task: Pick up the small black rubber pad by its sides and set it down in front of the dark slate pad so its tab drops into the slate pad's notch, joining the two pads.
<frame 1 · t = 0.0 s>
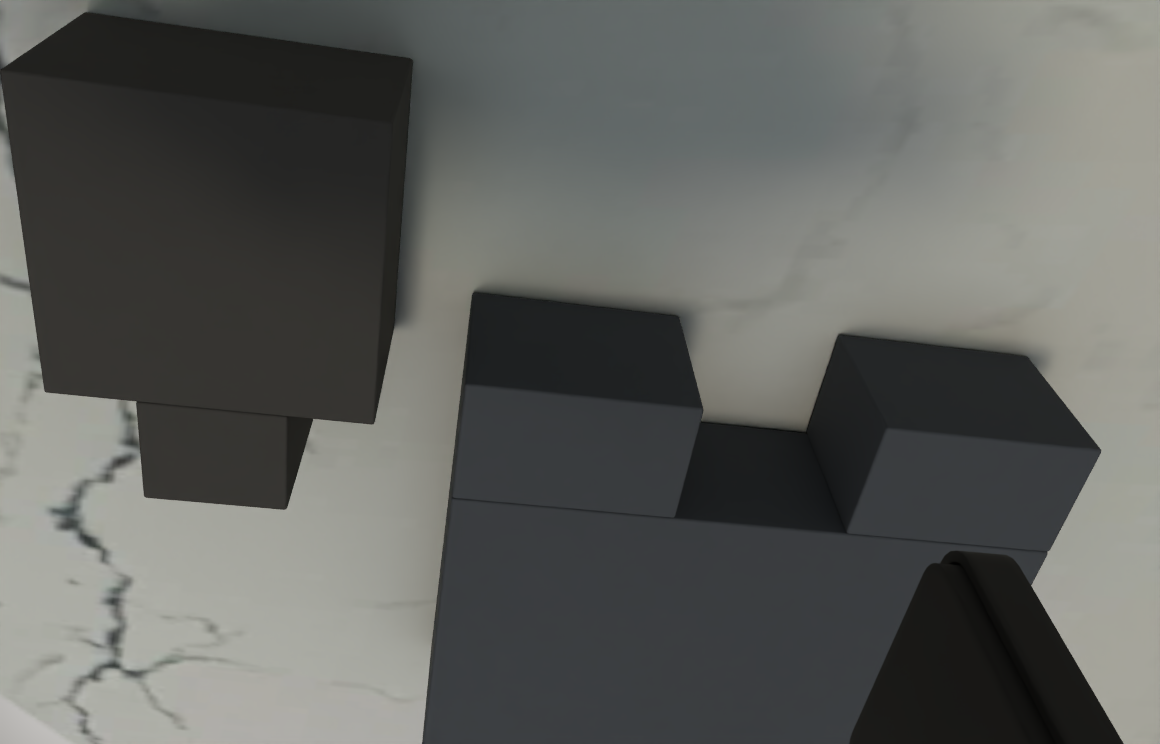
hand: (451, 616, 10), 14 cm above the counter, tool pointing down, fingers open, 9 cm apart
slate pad: (705, 513, 28), on the counter
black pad: (253, 184, 23), on the counter
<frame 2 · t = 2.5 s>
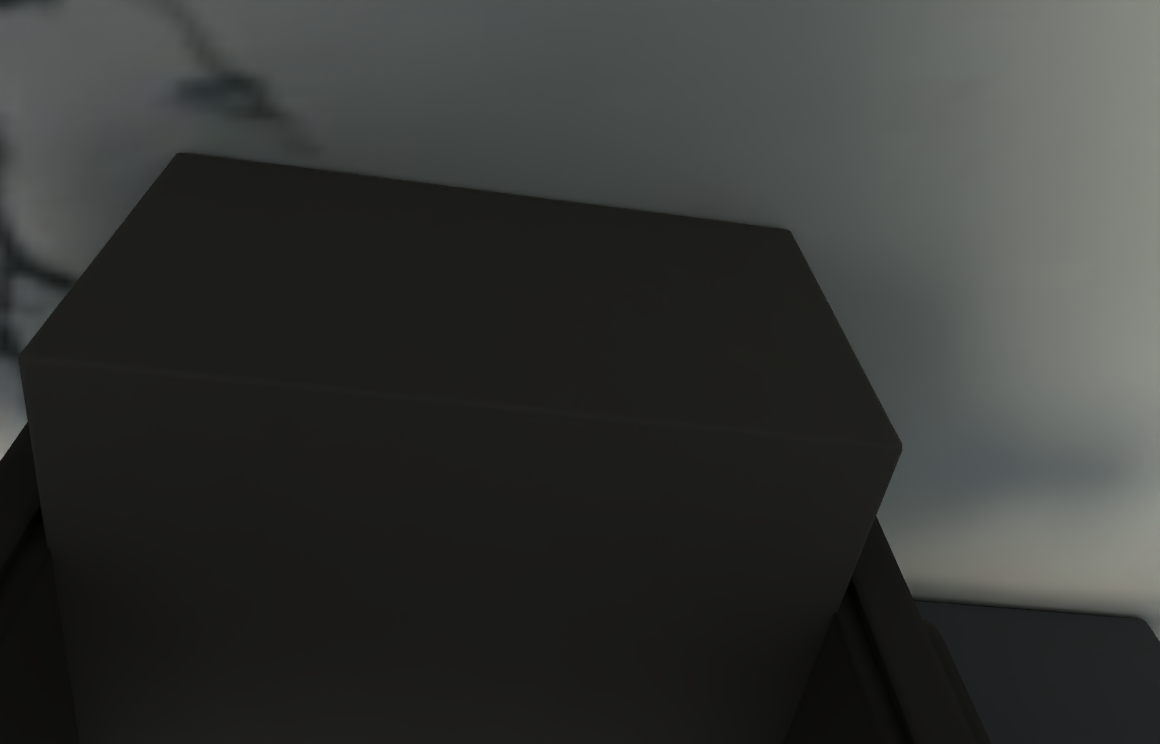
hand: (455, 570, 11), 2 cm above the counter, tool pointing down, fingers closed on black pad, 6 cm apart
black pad: (465, 438, 13), on the counter, touching gripper
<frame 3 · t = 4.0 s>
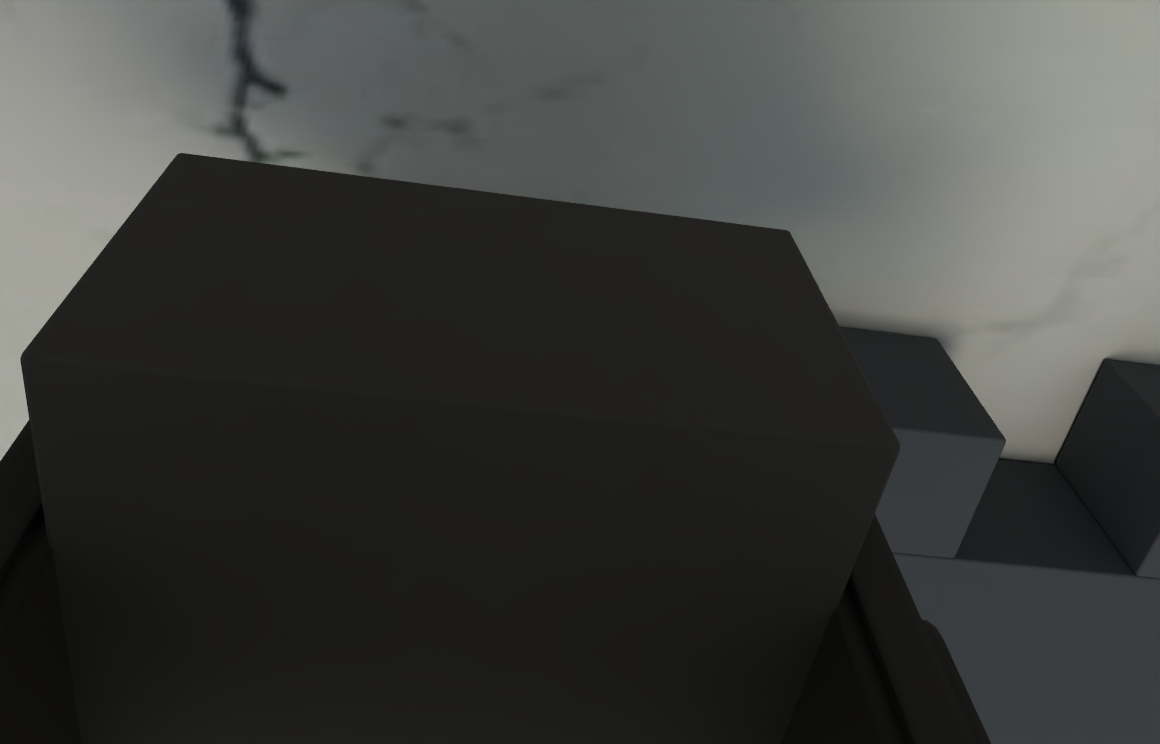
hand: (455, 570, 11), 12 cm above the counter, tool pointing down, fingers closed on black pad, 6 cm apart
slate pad: (934, 550, 26), on the counter
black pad: (465, 438, 13), point 9 cm above the counter, touching gripper
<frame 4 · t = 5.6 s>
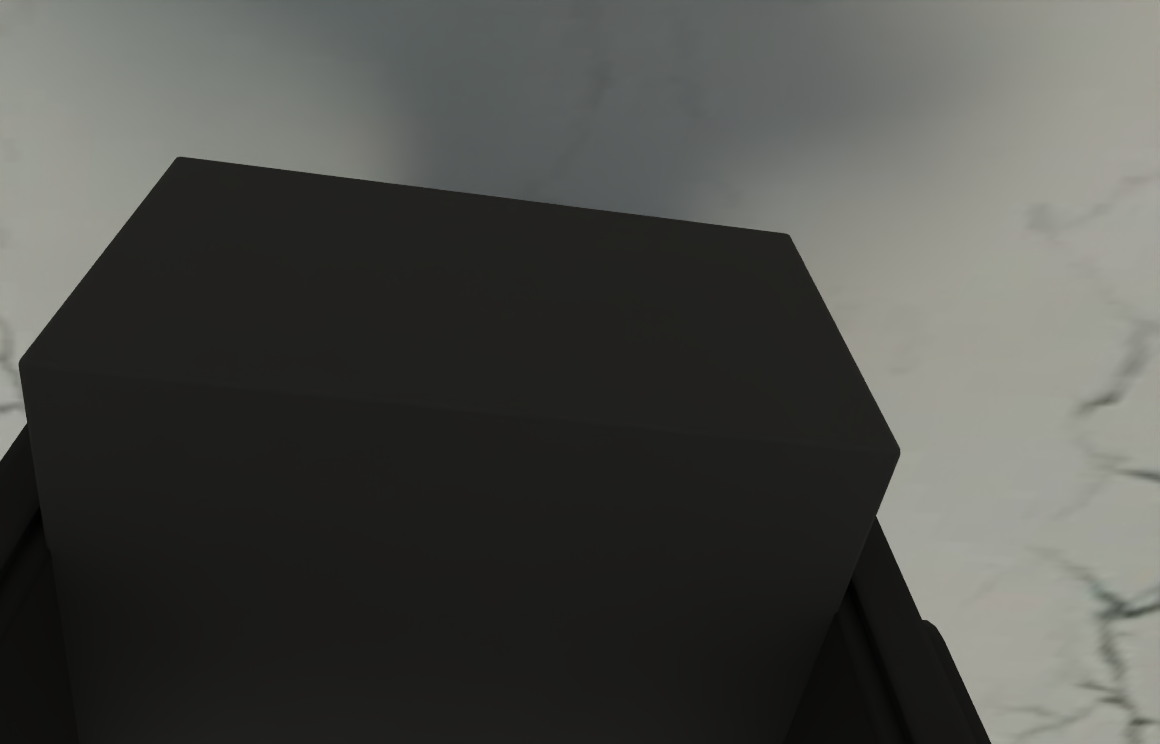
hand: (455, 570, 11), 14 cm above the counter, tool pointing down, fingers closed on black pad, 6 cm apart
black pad: (464, 441, 13), point 12 cm above the counter, touching gripper
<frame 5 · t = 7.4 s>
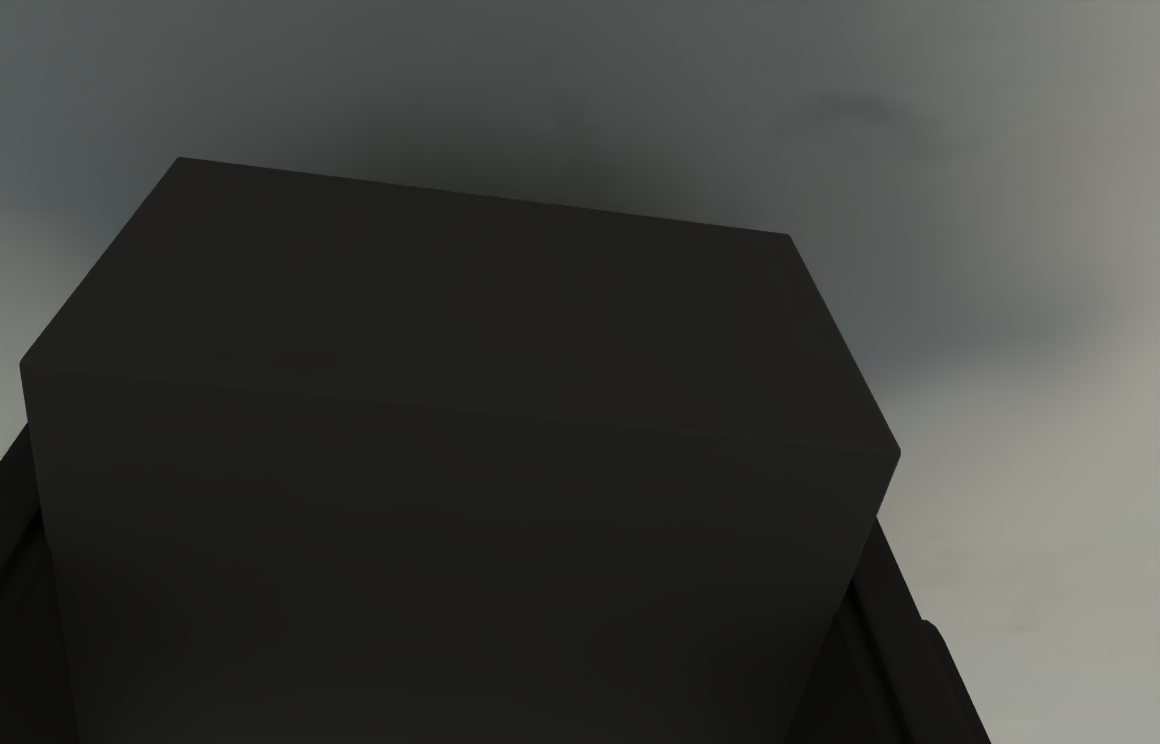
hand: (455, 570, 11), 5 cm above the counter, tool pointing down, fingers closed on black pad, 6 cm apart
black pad: (465, 441, 13), point 3 cm above the counter, touching gripper
when the fingers open (2 cm above the counter, at t = 8.7 s): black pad stays where it is, on the counter.
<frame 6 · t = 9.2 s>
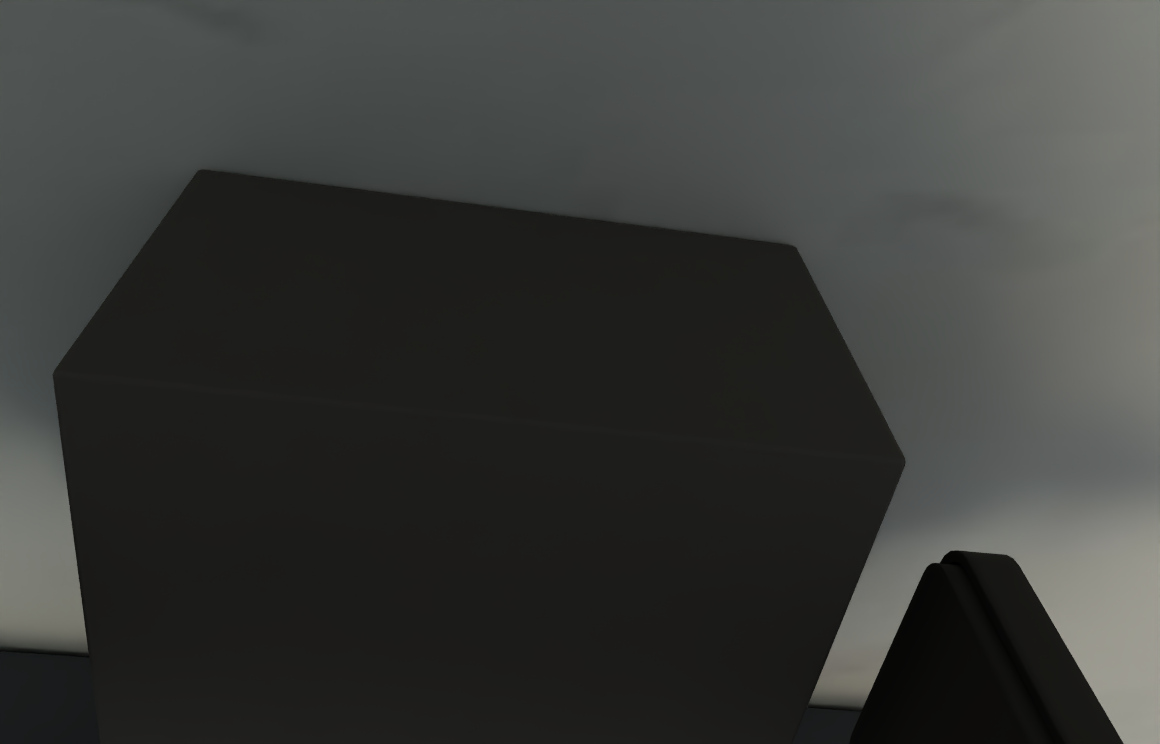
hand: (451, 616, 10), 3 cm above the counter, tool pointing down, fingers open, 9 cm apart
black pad: (476, 447, 13), on the counter
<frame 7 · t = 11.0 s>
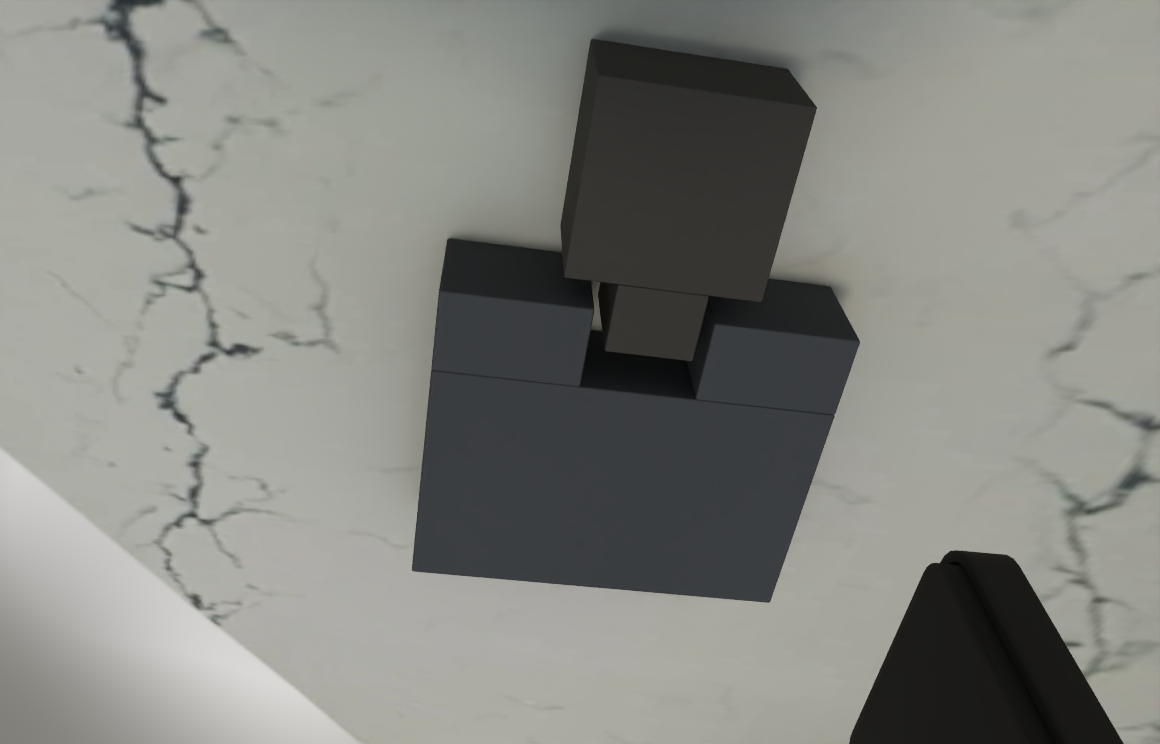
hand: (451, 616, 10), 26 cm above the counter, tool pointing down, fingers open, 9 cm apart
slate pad: (614, 401, 40), on the counter
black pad: (670, 150, 35), on the counter
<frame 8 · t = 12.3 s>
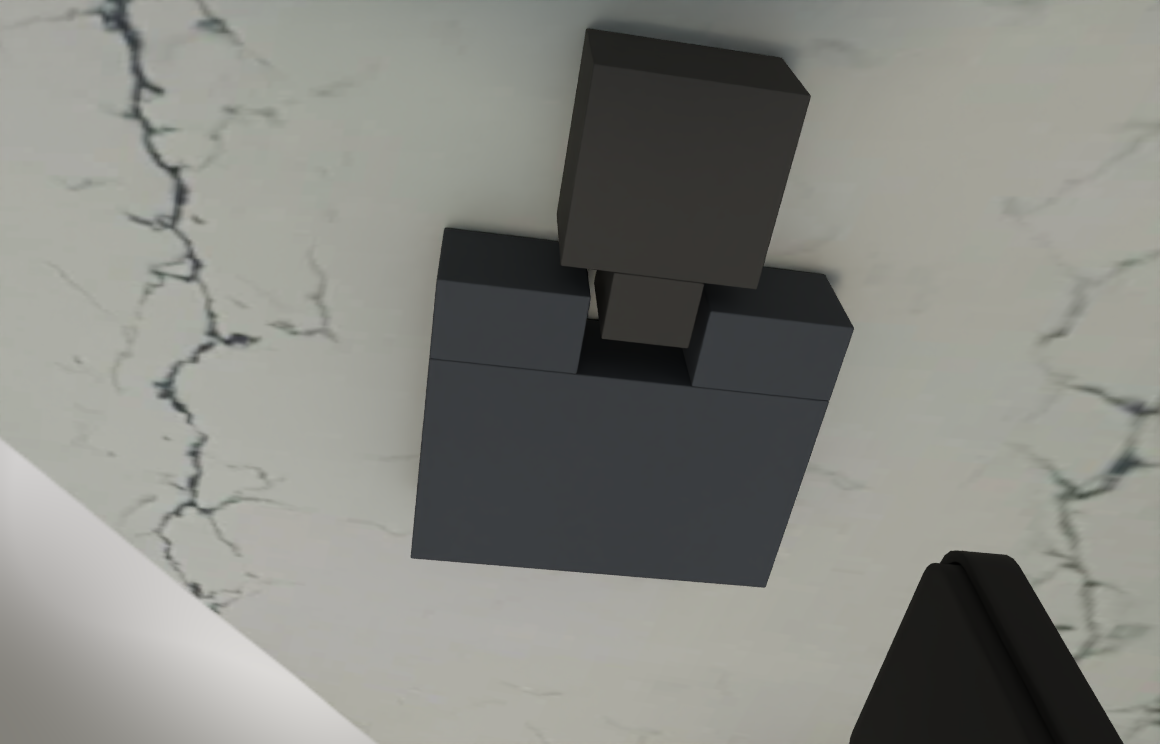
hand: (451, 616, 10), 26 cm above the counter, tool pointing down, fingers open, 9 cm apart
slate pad: (610, 389, 40), on the counter
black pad: (665, 139, 35), on the counter
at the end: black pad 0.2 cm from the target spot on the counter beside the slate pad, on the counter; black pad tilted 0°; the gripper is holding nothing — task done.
